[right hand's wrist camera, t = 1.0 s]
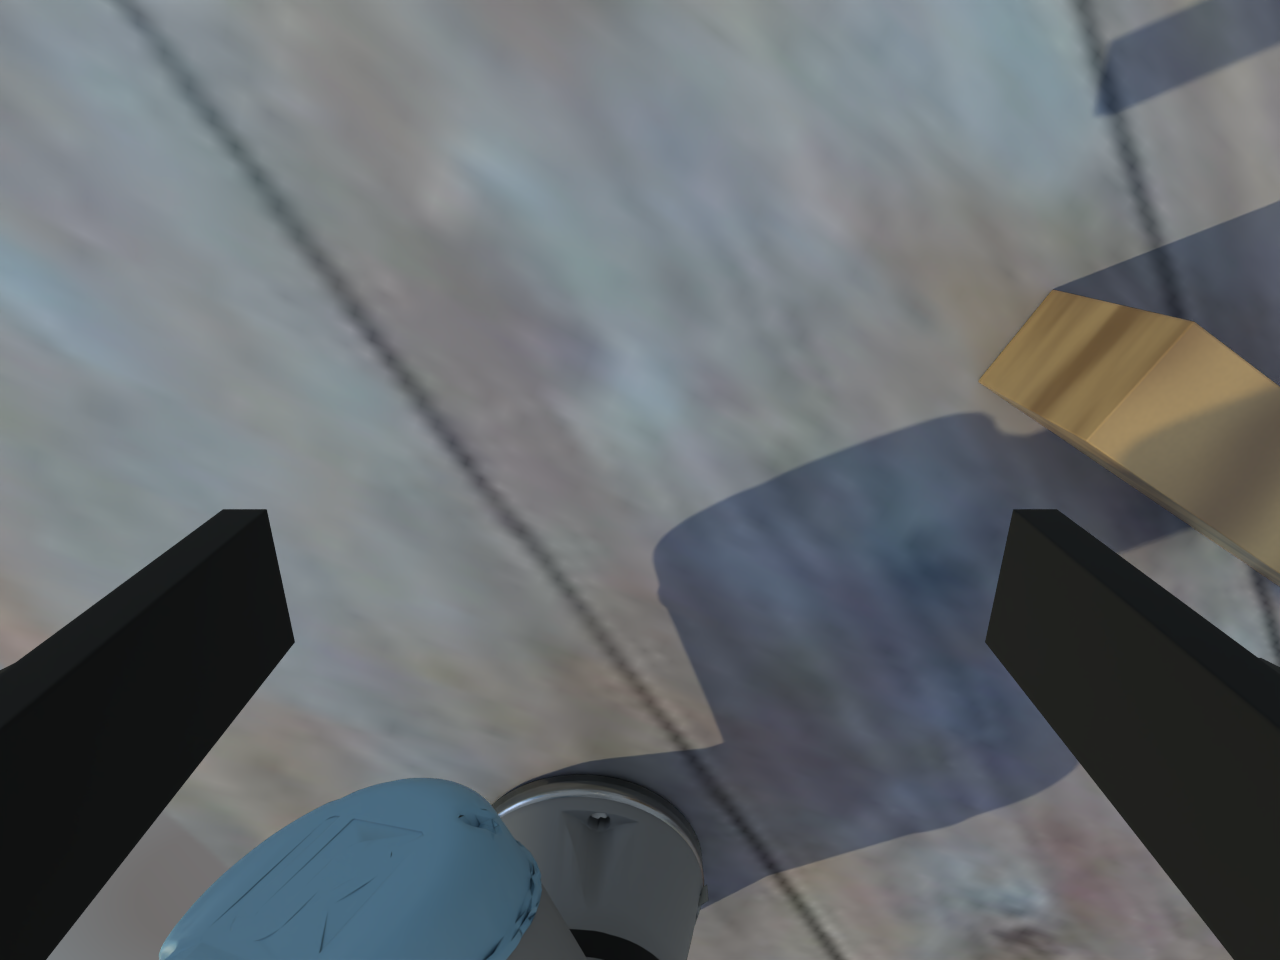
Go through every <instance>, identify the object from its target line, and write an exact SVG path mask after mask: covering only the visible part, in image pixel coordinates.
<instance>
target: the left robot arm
mask: <svg viewBox="0 0 1280 960" xmlns="http://www.w3.org/2000/svg"><path fill="white" fill-rule="evenodd" d="M707 901H708V891H707V885H705V886H704V875H703V864H702V854H701V848H700V845H699V842H698V839H697V837H696V834H695V832H694V830H693V829H692V827H691V825H690V824H689V822H688V821H687V820H686V819H685V817H684V816H683V815H682V814H681V813H680V812H679V811H678V810H677V809H676V808H675V807H674V806H673V805H671V804H670V803H669V802H668V801H666V800H665V799H663V798H662V797H661V796H659V795H657V794H655V793H654V792H652V791H650V790H648V789H646V788H644V787H641V786H639V785H636V784H634V783H631V782H628V781H624V780H621V779H617V778H612V777H606V776H599V775H584V774H577V775H563V776H555V777H550V778H545V779H541V780H538V781H534V782H531V783H528V784H526V785H523V786H521V787H519V788H517V789H515V790H513V791H511V792H509V793H508V794H506V795H504V796H503V797H501V798H500V799H499V800H497V801H496V802H495V803H494V804H492V805H490V804H489V802H488V801H487V800H486V799H484V798H483V797H482V796H481V795H479V794H478V793H477V792H475V791H473V790H472V789H470V788H468V787H466V786H464V785H461V784H458V783H456V782H452V781H448V780H442V779H434V778H409V779H401V780H396V781H391V782H386V783H381V784H377V785H373V786H370V787H367V788H364V789H361V790H358V791H356V792H353V793H351V794H349V795H347V796H345V797H343V798H341V799H338V800H335V801H332V802H329V803H327V804H325V805H323V806H321V807H319V808H317V809H315V810H313V811H311V812H309V813H307V814H306V815H304V816H302V817H300V818H299V819H297V820H295V821H294V822H292V823H290V824H289V825H287V826H285V827H284V828H282V829H281V830H279V831H278V832H276V833H275V834H273V835H272V836H270V837H269V838H268V839H266V840H265V841H264V842H262V843H261V844H259V845H258V846H257V847H256V848H254V849H253V850H252V851H250V852H249V853H248V854H247V855H245V856H244V857H243V858H242V859H240V860H239V861H238V862H237V863H236V864H234V865H233V866H232V867H231V868H230V869H229V870H227V871H226V872H225V873H224V874H223V875H222V876H221V877H220V878H219V879H217V881H216V882H214V883H213V884H212V885H211V886H210V887H209V888H208V889H207V890H206V891H205V892H204V893H203V894H202V896H200V898H199V899H198V900H197V901H196V902H195V903H194V904H193V905H192V906H191V908H190V909H189V910H188V911H187V912H186V914H185V915H184V916H183V917H182V919H181V920H180V921H179V922H178V923H177V925H176V926H175V927H174V928H173V930H172V931H171V933H170V934H169V936H168V937H167V938H166V940H165V942H164V944H163V946H162V947H161V951H160V953H159V959H160V960H687V957H688V952H689V948H690V944H691V939H692V935H693V930H694V926H695V923H696V920H697V917H698V914H699V911H700V908H701V905H702V904H704V903H705V902H707Z"/></svg>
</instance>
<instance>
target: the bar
mask: <svg viewBox="0 0 1280 960" xmlns="http://www.w3.org/2000/svg"><path fill="white" fill-rule="evenodd" d="M979 383H981V384H982V385H984V386H985V387H987V388H988V389H989V390H991V391H992V392H994V393H995V394H997V395H998V396H1000V397H1001V398H1003V399H1004V400H1006V401H1007V402H1009V403H1010V404H1012V405H1013V406H1014V407H1016V408H1017V409H1019V410H1020V411H1022V412H1023V413H1025V414H1026V415H1028V416H1029V417H1031V418H1032V419H1034V420H1035V421H1037V422H1038V423H1040V424H1041V425H1042V426H1044V427H1045V428H1047V429H1048V430H1050V431H1051V432H1053V433H1054V434H1056V435H1057V436H1059V437H1060V438H1062V439H1063V440H1065V441H1066V442H1067V443H1069V444H1070V445H1072V446H1073V447H1075V448H1076V449H1078V450H1079V451H1081V452H1082V453H1084V454H1085V455H1087V456H1088V457H1090V458H1091V459H1092V460H1094V461H1095V462H1097V463H1098V464H1100V465H1101V466H1103V467H1104V468H1106V469H1107V470H1109V471H1110V472H1112V473H1113V474H1115V475H1116V476H1118V477H1119V478H1120V479H1122V480H1123V481H1125V482H1126V483H1128V484H1129V485H1131V486H1132V487H1134V488H1135V489H1137V490H1138V491H1140V492H1141V493H1143V494H1144V495H1145V496H1147V497H1148V498H1150V499H1151V500H1153V501H1154V502H1156V503H1157V504H1159V505H1160V506H1162V507H1163V508H1165V509H1166V510H1168V511H1169V512H1170V513H1172V514H1173V515H1175V516H1176V517H1178V518H1179V519H1181V520H1182V521H1184V522H1185V523H1187V524H1188V525H1190V526H1191V527H1193V528H1194V529H1196V530H1197V531H1198V532H1200V533H1201V534H1203V535H1204V536H1206V537H1207V538H1209V539H1210V540H1212V541H1213V542H1215V543H1216V544H1218V545H1219V546H1221V547H1222V548H1223V549H1225V550H1226V551H1228V552H1229V553H1231V554H1232V555H1234V556H1235V557H1237V558H1238V559H1240V560H1241V561H1243V562H1244V563H1246V564H1247V565H1248V566H1250V567H1251V568H1253V569H1254V570H1256V571H1257V572H1259V573H1260V574H1262V575H1263V576H1265V577H1266V578H1268V579H1269V580H1271V581H1272V582H1274V583H1275V584H1276V585H1278V586H1279V587H1280V386H1278V385H1277V384H1276V383H1274V382H1273V381H1272V380H1270V379H1269V378H1268V377H1266V376H1265V375H1264V374H1263V373H1261V372H1260V371H1259V370H1257V369H1256V368H1255V367H1253V366H1252V365H1251V364H1249V363H1248V362H1247V361H1245V360H1244V359H1243V358H1241V357H1240V356H1239V355H1238V354H1236V353H1235V352H1234V351H1232V350H1231V349H1230V348H1228V347H1227V346H1226V345H1224V344H1223V343H1222V342H1220V341H1219V340H1218V339H1217V338H1215V337H1214V336H1213V335H1211V334H1210V333H1209V332H1207V331H1206V330H1205V329H1203V328H1202V327H1201V326H1199V325H1198V324H1197V323H1196V322H1194V321H1189V320H1185V319H1180V318H1176V317H1172V316H1167V315H1163V314H1159V313H1154V312H1150V311H1145V310H1141V309H1137V308H1132V307H1128V306H1123V305H1119V304H1115V303H1110V302H1106V301H1101V300H1097V299H1093V298H1088V297H1084V296H1080V295H1075V294H1071V293H1066V292H1062V291H1058V290H1052V291H1051V292H1050V293H1049V295H1048V296H1047V297H1046V298H1045V300H1044V301H1043V302H1042V303H1041V305H1040V306H1039V307H1038V308H1037V309H1036V311H1035V312H1034V313H1033V314H1032V316H1031V317H1030V318H1029V319H1028V321H1027V322H1026V323H1025V324H1024V325H1023V327H1022V328H1021V329H1020V330H1019V332H1018V333H1017V334H1016V335H1015V336H1014V338H1013V339H1012V340H1011V341H1010V343H1009V344H1008V345H1007V346H1006V348H1005V349H1004V350H1003V351H1002V352H1001V354H1000V355H999V356H998V357H997V359H996V360H995V361H994V362H993V364H992V365H991V366H990V367H989V368H988V370H987V371H986V372H985V373H984V375H983V376H982V377H981V378H980V380H979Z"/></svg>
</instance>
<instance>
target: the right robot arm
mask: <svg viewBox="0 0 1280 960" xmlns="http://www.w3.org/2000/svg"><path fill="white" fill-rule="evenodd" d="M294 643H295V641H294V636H293V631H292V627H291V622H290V617H289V612H288V608H287V603H286V598H285V594H284V589H283V584H282V579H281V575H280V570H279V565H278V561H277V556H276V551H275V546H274V542H273V537H272V532H271V528H270V523H269V518H268V513H267V509H223V510H222V511H220V512H219V513H218V514H216V515H215V516H214V517H212V518H211V519H209V520H208V521H207V522H205V523H204V524H203V525H201V526H200V527H199V528H197V529H196V530H195V531H193V532H192V533H191V534H189V535H188V536H186V537H185V538H184V539H182V540H181V541H180V542H178V543H177V544H176V545H174V546H173V547H172V548H170V549H169V550H167V551H166V552H165V553H163V554H162V555H161V556H159V557H158V558H157V559H155V560H154V561H153V562H151V563H150V564H149V565H147V566H146V567H144V568H143V569H142V570H140V571H139V572H138V573H136V574H135V575H134V576H132V577H131V578H130V579H128V580H127V581H126V582H124V583H123V584H121V585H120V586H119V587H117V588H116V589H115V590H113V591H112V592H111V593H109V594H108V595H107V596H105V597H104V598H102V599H101V600H100V601H98V602H97V603H96V604H94V605H93V606H92V607H90V608H89V609H88V610H86V611H85V612H84V613H82V614H81V615H79V616H78V617H77V618H75V619H74V620H73V621H71V622H70V623H69V624H67V625H66V626H65V627H63V628H62V629H61V630H59V631H58V632H56V633H55V634H54V635H52V636H51V637H50V638H48V639H47V640H46V641H44V642H43V643H42V644H40V645H39V646H37V647H36V648H35V649H33V650H32V651H31V652H29V653H28V654H27V655H25V656H24V657H23V658H21V659H20V660H19V661H17V662H16V663H14V664H12V665H10V666H8V667H6V668H4V669H2V670H0V960H46V959H47V958H48V956H49V955H50V954H51V953H52V951H53V950H54V949H55V948H56V946H57V945H58V944H59V942H60V941H61V940H62V939H63V937H64V936H65V935H66V934H67V932H68V931H69V930H70V928H71V927H72V926H73V925H74V923H75V922H76V921H77V919H78V918H79V917H80V916H81V914H82V913H83V912H84V910H85V909H86V908H87V907H88V905H89V904H90V903H91V902H92V900H93V899H94V898H95V896H96V895H97V894H98V893H99V891H100V890H101V889H102V888H103V886H104V885H105V884H106V882H107V881H108V880H109V879H110V877H111V876H112V875H113V874H114V872H115V871H116V870H117V868H118V867H119V866H120V865H121V863H122V862H123V861H124V859H125V858H126V857H127V856H128V854H129V853H130V852H131V851H132V849H133V848H134V847H135V845H136V844H137V843H138V842H139V840H140V839H141V838H142V836H143V835H144V834H145V833H146V831H147V830H148V829H149V828H150V826H151V825H152V824H153V822H154V821H155V820H156V819H157V817H158V816H159V815H160V814H161V812H162V811H163V810H164V808H165V807H166V806H167V805H168V803H169V802H170V801H171V799H172V798H173V797H174V796H175V794H176V793H177V792H178V791H179V789H180V788H181V787H182V785H183V784H184V783H185V782H186V780H187V779H188V778H189V777H190V775H191V774H192V773H193V771H194V770H195V769H196V768H197V766H198V765H199V764H200V762H201V761H202V760H203V759H204V757H205V756H206V755H207V754H208V752H209V751H210V750H211V748H212V747H213V746H214V745H215V743H216V742H217V741H218V740H219V738H220V737H221V736H222V734H223V733H224V732H225V731H226V729H227V728H228V727H229V725H230V724H231V723H232V722H233V720H234V719H235V718H236V717H237V715H238V714H239V713H240V711H241V710H242V709H243V708H244V706H245V705H246V704H247V703H248V701H249V700H250V699H251V697H252V696H253V695H254V694H255V692H256V691H257V690H258V688H259V687H260V686H261V685H262V683H263V682H264V681H265V680H266V678H267V677H268V676H269V674H270V673H271V672H272V671H273V669H274V668H275V667H276V665H277V664H278V663H279V662H280V660H281V659H282V658H283V657H284V655H285V654H286V653H287V651H288V650H289V649H290V648H291V646H292V645H293V644H294ZM985 643H986V644H987V645H988V646H989V648H990V649H991V650H992V651H993V653H994V654H995V655H996V657H997V658H998V659H999V660H1000V662H1001V663H1002V664H1003V665H1004V667H1005V668H1006V669H1007V671H1008V672H1009V673H1010V674H1011V676H1012V677H1013V678H1014V680H1015V681H1016V682H1017V683H1018V685H1019V686H1020V687H1021V688H1022V690H1023V691H1024V692H1025V694H1026V695H1027V696H1028V697H1029V699H1030V700H1031V701H1032V703H1033V704H1034V705H1035V706H1036V708H1037V709H1038V710H1039V711H1040V713H1041V714H1042V715H1043V717H1044V718H1045V719H1046V720H1047V722H1048V723H1049V724H1050V725H1051V727H1052V728H1053V729H1054V731H1055V732H1056V733H1057V734H1058V736H1059V737H1060V738H1061V740H1062V741H1063V742H1064V743H1065V745H1066V746H1067V747H1068V748H1069V750H1070V751H1071V752H1072V754H1073V755H1074V756H1075V757H1076V759H1077V760H1078V761H1079V762H1080V764H1081V765H1082V766H1083V768H1084V769H1085V770H1086V771H1087V773H1088V774H1089V775H1090V777H1091V778H1092V779H1093V780H1094V782H1095V783H1096V784H1097V785H1098V787H1099V788H1100V789H1101V791H1102V792H1103V793H1104V794H1105V796H1106V797H1107V798H1108V799H1109V801H1110V802H1111V803H1112V805H1113V806H1114V807H1115V808H1116V810H1117V811H1118V812H1119V814H1120V815H1121V816H1122V817H1123V819H1124V820H1125V821H1126V822H1127V824H1128V825H1129V826H1130V828H1131V829H1132V830H1133V831H1134V833H1135V834H1136V835H1137V837H1138V838H1139V839H1140V840H1141V842H1142V843H1143V844H1144V845H1145V847H1146V848H1147V849H1148V851H1149V852H1150V853H1151V854H1152V856H1153V857H1154V858H1155V859H1156V861H1157V862H1158V863H1159V865H1160V866H1161V867H1162V868H1163V870H1164V871H1165V872H1166V874H1167V875H1168V876H1169V877H1170V879H1171V880H1172V881H1173V882H1174V884H1175V885H1176V886H1177V888H1178V889H1179V890H1180V891H1181V893H1182V894H1183V895H1184V896H1185V898H1186V899H1187V900H1188V902H1189V903H1190V904H1191V905H1192V907H1193V908H1194V909H1195V911H1196V912H1197V913H1198V914H1199V916H1200V917H1201V918H1202V919H1203V921H1204V922H1205V923H1206V925H1207V926H1208V927H1209V928H1210V930H1211V931H1212V932H1213V934H1214V935H1215V936H1216V937H1217V939H1218V940H1219V941H1220V942H1221V944H1222V945H1223V946H1224V948H1225V949H1226V950H1227V951H1228V953H1229V954H1230V955H1231V956H1232V958H1233V959H1234V960H1280V667H1278V666H1276V665H1274V664H1272V663H1270V662H1268V661H1266V660H1264V659H1262V658H1257V657H1256V656H1255V655H1253V654H1252V653H1251V652H1249V651H1248V650H1247V649H1245V648H1244V647H1243V646H1241V645H1240V644H1238V643H1237V642H1236V641H1234V640H1233V639H1232V638H1230V637H1229V636H1228V635H1226V634H1225V633H1224V632H1222V631H1221V630H1219V629H1218V628H1217V627H1215V626H1214V625H1213V624H1211V623H1210V622H1209V621H1207V620H1206V619H1205V618H1203V617H1202V616H1201V615H1199V614H1198V613H1196V612H1195V611H1194V610H1192V609H1191V608H1190V607H1188V606H1187V605H1186V604H1184V603H1183V602H1182V601H1180V600H1179V599H1178V598H1176V597H1175V596H1173V595H1172V594H1171V593H1169V592H1168V591H1167V590H1165V589H1164V588H1163V587H1161V586H1160V585H1159V584H1157V583H1156V582H1154V581H1153V580H1152V579H1150V578H1149V577H1148V576H1146V575H1145V574H1144V573H1142V572H1141V571H1140V570H1138V569H1137V568H1136V567H1134V566H1133V565H1131V564H1130V563H1129V562H1127V561H1126V560H1125V559H1123V558H1122V557H1121V556H1119V555H1118V554H1117V553H1115V552H1114V551H1113V550H1111V549H1110V548H1108V547H1107V546H1106V545H1104V544H1103V543H1102V542H1100V541H1099V540H1098V539H1096V538H1095V537H1094V536H1092V535H1091V534H1089V533H1088V532H1087V531H1085V530H1084V529H1083V528H1081V527H1080V526H1079V525H1077V524H1076V523H1075V522H1073V521H1072V520H1071V519H1069V518H1068V517H1066V516H1065V515H1064V514H1062V513H1061V512H1060V511H1058V510H1057V509H1013V513H1012V518H1011V523H1010V528H1009V532H1008V537H1007V542H1006V546H1005V551H1004V556H1003V561H1002V565H1001V570H1000V575H999V579H998V584H997V589H996V594H995V598H994V603H993V608H992V612H991V617H990V622H989V627H988V631H987V636H986V641H985Z"/></svg>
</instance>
